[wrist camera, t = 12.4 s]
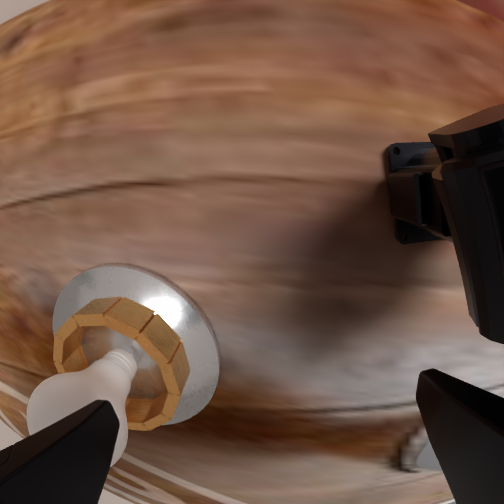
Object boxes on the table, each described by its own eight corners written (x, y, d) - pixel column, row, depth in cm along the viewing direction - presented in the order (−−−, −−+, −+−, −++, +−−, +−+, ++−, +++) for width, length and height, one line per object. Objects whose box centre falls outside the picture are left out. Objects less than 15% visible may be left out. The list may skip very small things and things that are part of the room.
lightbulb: (93, 376, 22) (24, 465, 11) (89, 311, 21) (-6, 393, 10) (162, 398, 22) (112, 508, 11) (166, 333, 21) (96, 446, 10)
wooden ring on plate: (199, 250, 20) (183, 267, 16) (235, 417, 23) (230, 452, 19) (39, 273, 21) (9, 289, 18) (92, 412, 24) (75, 438, 21)
